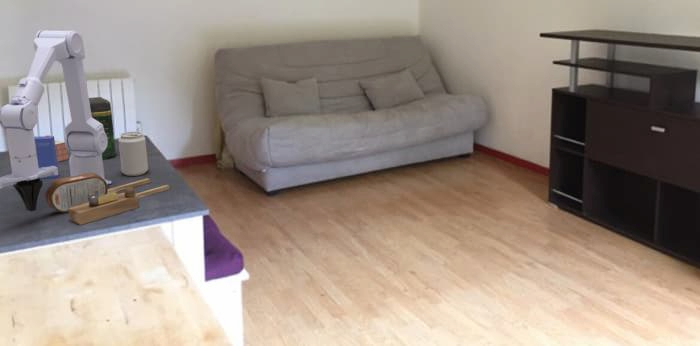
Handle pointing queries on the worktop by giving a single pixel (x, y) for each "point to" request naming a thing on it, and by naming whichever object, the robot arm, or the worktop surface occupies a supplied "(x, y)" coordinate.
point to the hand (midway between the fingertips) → (31, 210)
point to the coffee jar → (104, 122)
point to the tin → (74, 191)
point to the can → (133, 153)
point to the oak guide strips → (138, 185)
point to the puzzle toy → (61, 151)
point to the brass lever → (102, 198)
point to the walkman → (46, 152)
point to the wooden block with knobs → (104, 208)
